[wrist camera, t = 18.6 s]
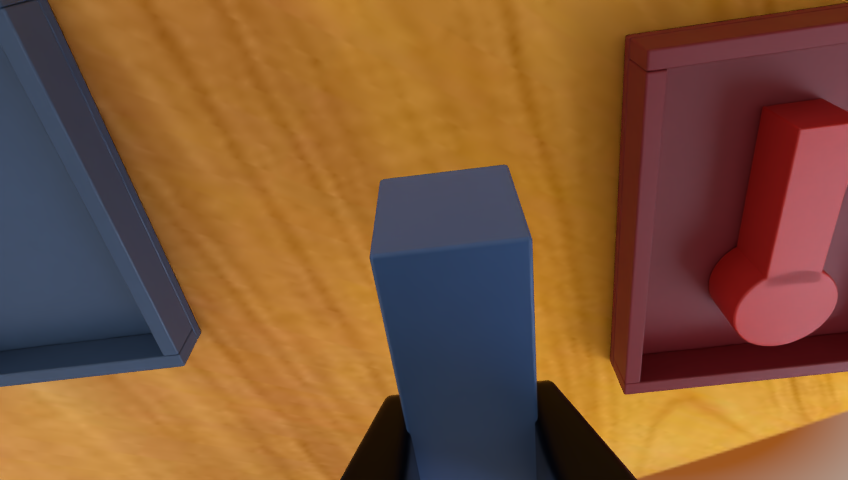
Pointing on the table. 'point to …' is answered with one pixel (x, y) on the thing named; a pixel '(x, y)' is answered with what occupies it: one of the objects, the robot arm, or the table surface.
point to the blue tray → (73, 226)
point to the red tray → (712, 193)
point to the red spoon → (787, 226)
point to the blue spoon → (460, 320)
